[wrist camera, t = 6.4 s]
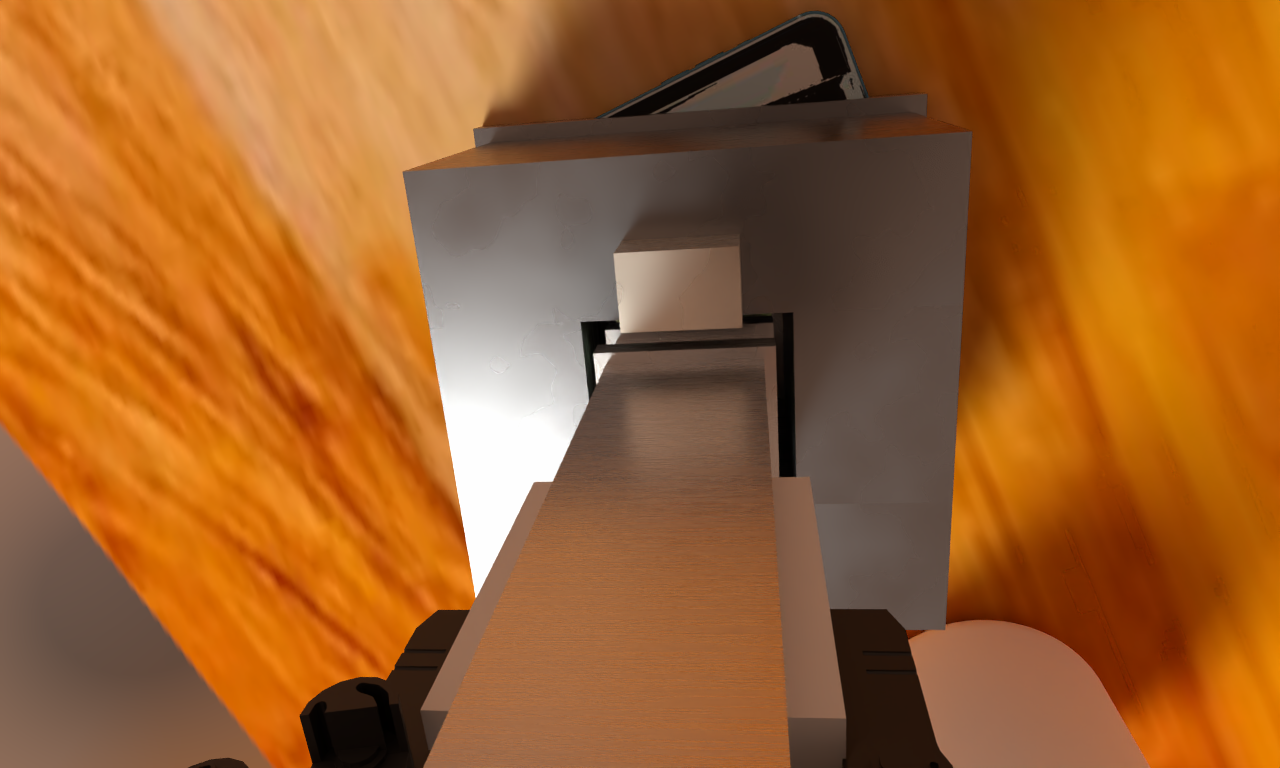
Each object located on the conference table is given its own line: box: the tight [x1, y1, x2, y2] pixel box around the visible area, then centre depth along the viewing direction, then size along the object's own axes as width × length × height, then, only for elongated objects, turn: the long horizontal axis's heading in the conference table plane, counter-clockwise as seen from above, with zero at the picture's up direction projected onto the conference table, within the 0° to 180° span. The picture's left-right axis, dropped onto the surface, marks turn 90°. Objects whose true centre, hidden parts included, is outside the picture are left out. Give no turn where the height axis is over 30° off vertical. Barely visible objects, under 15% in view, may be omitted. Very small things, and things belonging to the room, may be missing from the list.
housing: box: [403, 93, 972, 630], centre depth 27 cm, size 15×15×10 cm
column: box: [423, 313, 791, 768], centre depth 18 cm, size 5×5×21 cm
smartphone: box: [594, 11, 869, 119], centre depth 30 cm, size 7×1×15 cm
